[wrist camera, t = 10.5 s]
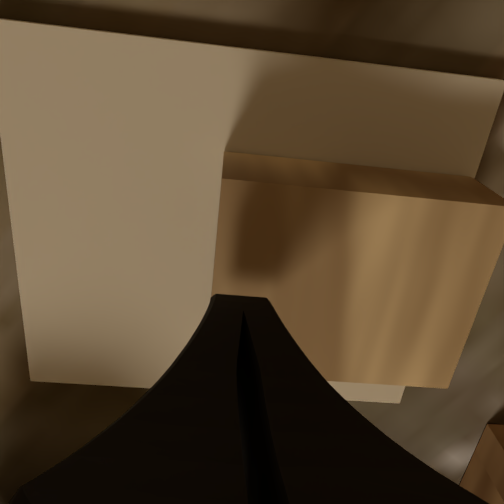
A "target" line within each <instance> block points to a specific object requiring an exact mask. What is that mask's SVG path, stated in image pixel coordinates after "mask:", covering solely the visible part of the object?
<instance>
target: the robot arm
mask: <svg viewBox="0 0 504 504" xmlns="http://www.w3.org/2000/svg"><path fill="white" fill-rule="evenodd" d="M9 504H489V503H487V502H486V501H484V500H482V499H481V498H479V497H478V496H476V495H474V494H473V493H471V492H469V491H468V490H466V489H464V488H463V487H461V486H459V485H458V484H456V483H454V482H453V481H451V480H449V479H448V478H446V477H444V476H443V475H441V474H440V473H438V472H436V471H435V470H433V469H432V468H430V467H429V466H428V465H426V464H425V463H423V462H422V461H420V460H419V459H418V458H416V457H415V456H413V455H412V454H410V453H409V452H408V451H406V450H405V449H403V448H402V447H401V446H399V445H398V444H397V443H395V442H394V441H393V440H391V439H390V438H389V437H388V436H386V435H385V434H384V433H383V432H381V431H380V430H379V429H378V428H377V427H375V426H374V425H373V424H372V423H371V422H369V421H368V420H367V419H366V418H365V417H363V416H362V415H361V414H360V413H359V412H358V411H357V410H356V409H354V408H353V407H352V406H351V405H350V404H349V403H348V402H347V401H346V400H345V399H344V398H343V397H342V396H341V395H340V394H339V393H338V392H337V391H336V390H335V389H334V388H333V387H332V386H331V385H330V384H329V383H328V382H327V381H326V379H325V378H324V377H323V376H322V375H321V374H320V372H319V371H318V370H317V369H316V368H315V366H314V365H313V364H312V363H311V361H310V360H309V359H308V358H307V356H306V355H305V354H304V352H303V351H302V350H301V348H300V347H299V346H298V344H297V343H296V341H295V340H294V339H293V337H292V336H291V334H290V333H289V331H288V330H287V328H286V327H285V325H284V324H283V322H282V321H281V319H280V317H279V316H278V314H277V312H276V311H275V309H274V307H273V306H272V304H271V302H270V301H269V300H268V298H266V297H253V296H240V295H227V294H215V295H213V296H212V297H211V298H210V303H209V305H208V308H207V310H206V312H205V314H204V316H203V318H202V320H201V322H200V324H199V325H198V327H197V329H196V330H195V332H194V333H193V335H192V337H191V338H190V340H189V341H188V343H187V344H186V346H185V347H184V348H183V350H182V351H181V352H180V354H179V355H178V356H177V358H176V359H175V360H174V362H173V363H172V364H171V366H170V367H169V368H168V369H167V370H166V372H165V373H164V374H163V375H162V376H161V377H160V379H159V380H158V381H157V382H156V383H155V384H154V385H153V386H152V387H151V388H150V389H149V390H148V391H147V392H146V393H145V394H144V395H143V396H142V397H141V398H140V399H139V400H138V401H137V402H136V403H135V404H134V405H133V406H132V407H131V408H130V409H129V410H128V411H126V412H125V413H124V414H123V415H122V416H121V417H120V418H118V419H117V420H116V421H115V422H114V423H113V424H111V425H110V426H109V427H107V428H106V429H105V430H104V431H102V432H101V433H100V434H98V435H97V436H96V437H95V438H93V439H92V440H91V441H89V442H88V443H87V444H86V445H84V446H83V447H82V448H80V449H79V450H78V451H76V452H75V453H73V454H72V455H70V456H69V457H67V458H66V459H64V460H63V461H61V462H60V463H58V464H57V465H55V466H54V467H52V468H50V469H49V470H47V471H46V472H44V473H43V474H41V475H40V476H38V477H37V478H35V479H33V480H32V481H30V482H28V483H27V484H25V485H23V486H22V487H20V488H19V489H18V491H17V492H16V494H15V495H14V496H13V498H12V499H11V501H10V502H9Z"/></svg>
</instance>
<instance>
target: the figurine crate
mask: <svg viewBox="0 0 504 504" xmlns="http://www.w3.org/2000/svg"><path fill="white" fill-rule="evenodd" d="M459 486H461V487H463V488H464V489H466V490H468V491H469V492H471V493H473V494H474V495H476V496H478V497H479V498H481V499H482V500H484V501H486V502H487V503H489V504H504V425H498V424H487V425H486V428H485V430H484V432H483V434H482V436H481V439H480V441H479V443H478V445H477V447H476V450H475V452H474V454H473V456H472V458H471V461H470V463H469V465H468V467H467V469H466V472H465V474H464V476H463V478H462V480H461V483H460V485H459Z"/></svg>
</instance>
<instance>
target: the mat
mask: <svg viewBox="0 0 504 504" xmlns="http://www.w3.org/2000/svg"><path fill="white" fill-rule="evenodd" d="M503 92H504V80H501V79H497V78H488V77H480V76H472V75H464V74H456V73H447V72H439V71H431V70H423V69H414V68H406V67H398V66H390V65H382V64H373V63H365V62H357V61H349V60H340V59H332V58H324V57H316V56H308V55H299V54H291V53H283V52H275V51H266V50H258V49H250V48H242V47H234V46H225V45H217V44H209V43H201V42H192V41H184V40H176V39H168V38H160V37H151V36H143V35H135V34H127V33H119V32H110V31H102V30H94V29H86V28H77V27H69V26H61V25H53V24H45V23H36V22H28V21H20V20H12V19H3V18H0V136H1V144H2V152H3V161H4V169H5V177H6V185H7V193H8V201H9V210H10V218H11V226H12V234H13V242H14V251H15V259H16V267H17V275H18V283H19V292H20V300H21V308H22V316H23V324H24V332H25V341H26V349H27V357H28V365H29V373H30V381H37V382H54V383H70V384H87V385H104V386H120V387H137V388H151V387H152V386H153V385H154V384H155V383H156V382H157V381H158V380H159V379H160V377H161V376H162V375H163V374H164V373H165V372H166V370H167V369H168V368H169V367H170V366H171V364H172V363H173V362H174V360H175V359H176V358H177V356H178V355H179V354H180V352H181V351H182V350H183V348H184V347H185V346H186V344H187V343H188V341H189V340H190V338H191V337H192V335H193V333H194V332H195V330H196V329H197V327H198V325H199V324H200V322H201V320H202V318H203V316H204V314H205V312H206V310H207V308H208V305H209V303H210V298H211V292H212V281H213V269H214V258H215V247H216V235H217V224H218V212H219V201H220V189H221V178H222V167H223V155H224V151H226V152H236V153H246V154H255V155H265V156H275V157H284V158H294V159H304V160H314V161H323V162H333V163H343V164H352V165H362V166H372V167H382V168H391V169H401V170H411V171H420V172H430V173H440V174H450V175H459V176H469V177H472V178H474V179H475V176H476V173H477V170H478V167H479V164H480V161H481V158H482V155H483V152H484V149H485V146H486V143H487V140H488V137H489V134H490V131H491V128H492V125H493V122H494V119H495V116H496V113H497V110H498V107H499V104H500V101H501V98H502V95H503ZM327 382H328V383H329V384H330V385H331V386H332V387H333V388H334V389H335V390H336V391H337V392H338V393H339V394H340V395H341V396H342V397H343V398H344V399H345V400H352V401H368V402H385V403H400V401H401V398H402V395H403V392H404V389H405V386H399V385H383V384H367V383H351V382H336V381H327Z"/></svg>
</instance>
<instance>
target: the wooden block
mask: <svg viewBox="0 0 504 504" xmlns="http://www.w3.org/2000/svg"><path fill="white" fill-rule="evenodd" d="M503 244H504V198H502V197H501V196H499V195H498V194H496V193H495V192H493V191H492V190H490V189H489V188H487V187H486V186H484V185H483V184H481V183H480V182H478V181H477V180H475V179H474V178H472V177H469V176H459V175H450V174H440V173H430V172H420V171H411V170H401V169H391V168H382V167H372V166H362V165H352V164H343V163H333V162H323V161H314V160H304V159H294V158H284V157H275V156H265V155H255V154H246V153H236V152H226V151H224V155H223V167H222V178H221V189H220V201H219V212H218V224H217V235H216V247H215V258H214V269H213V281H212V292H211V297H212V296H213V295H215V294H227V295H240V296H253V297H266V298H268V300H269V301H270V302H271V304H272V306H273V307H274V309H275V311H276V312H277V314H278V316H279V317H280V319H281V321H282V322H283V324H284V325H285V327H286V328H287V330H288V331H289V333H290V334H291V336H292V337H293V339H294V340H295V341H296V343H297V344H298V346H299V347H300V348H301V350H302V351H303V352H304V354H305V355H306V356H307V358H308V359H309V360H310V361H311V363H312V364H313V365H314V366H315V368H316V369H317V370H318V371H319V372H320V374H321V375H322V376H323V377H324V378H325V379H326V381H336V382H351V383H367V384H383V385H399V386H414V387H430V388H446V389H448V386H449V384H450V381H451V379H452V376H453V373H454V371H455V368H456V366H457V363H458V360H459V358H460V355H461V353H462V350H463V347H464V345H465V342H466V340H467V337H468V335H469V332H470V329H471V327H472V324H473V322H474V319H475V316H476V314H477V311H478V309H479V306H480V304H481V301H482V298H483V296H484V293H485V291H486V288H487V285H488V283H489V280H490V278H491V275H492V272H493V270H494V267H495V265H496V262H497V260H498V257H499V254H500V252H501V249H502V247H503Z"/></svg>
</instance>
